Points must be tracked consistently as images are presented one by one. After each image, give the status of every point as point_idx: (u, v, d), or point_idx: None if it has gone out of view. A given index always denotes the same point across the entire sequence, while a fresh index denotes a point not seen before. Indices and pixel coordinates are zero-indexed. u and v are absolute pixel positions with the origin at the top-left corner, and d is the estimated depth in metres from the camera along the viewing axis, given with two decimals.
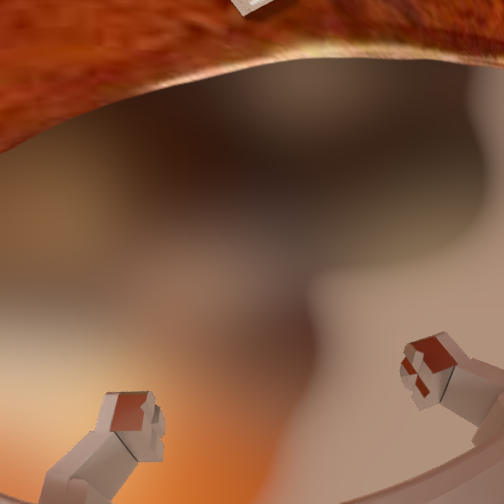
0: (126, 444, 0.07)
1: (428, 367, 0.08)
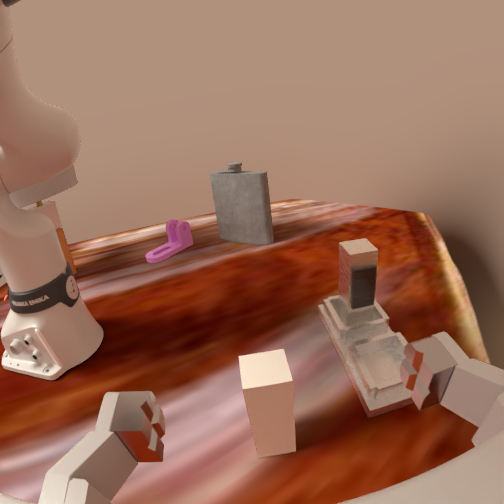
0: (126, 444, 0.07)
1: (428, 367, 0.08)
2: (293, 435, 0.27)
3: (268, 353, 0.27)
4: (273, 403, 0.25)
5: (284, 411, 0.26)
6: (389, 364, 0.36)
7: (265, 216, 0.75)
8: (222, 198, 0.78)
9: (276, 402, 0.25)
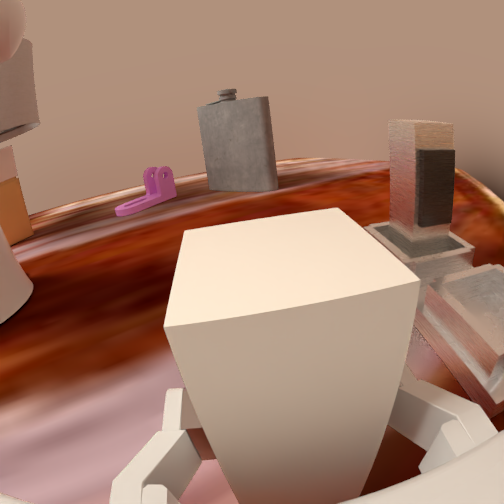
0: (195, 442, 0.07)
1: None
2: (356, 492, 0.08)
3: (290, 218, 0.08)
4: (321, 405, 0.06)
5: (353, 435, 0.06)
6: (496, 317, 0.17)
7: (266, 152, 0.56)
8: (212, 135, 0.59)
9: (334, 401, 0.06)
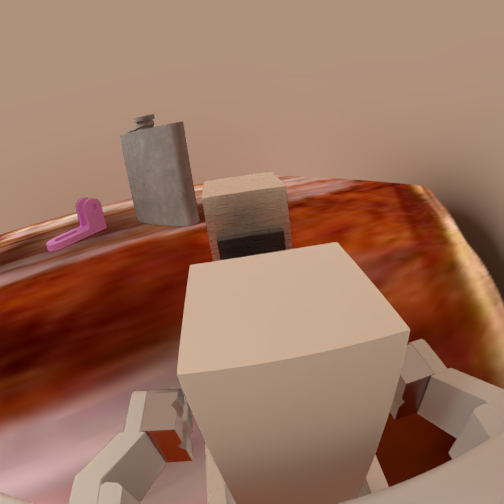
0: (156, 444, 0.07)
1: (401, 376, 0.08)
2: None
3: (291, 254, 0.08)
4: (317, 432, 0.06)
5: (346, 455, 0.07)
6: None
7: (181, 185, 0.51)
8: (133, 165, 0.55)
9: (328, 429, 0.06)
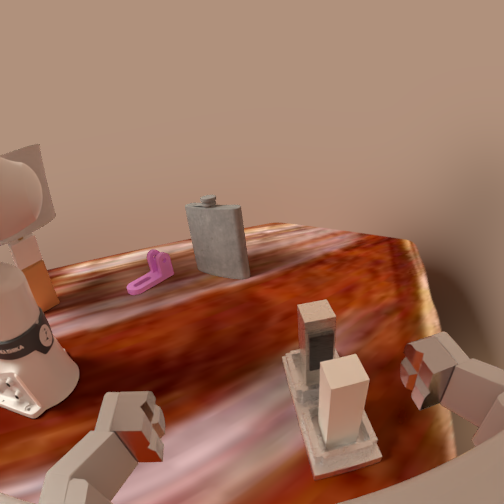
0: (126, 444, 0.07)
1: (428, 367, 0.08)
2: (358, 426, 0.31)
3: (345, 358, 0.31)
4: (351, 399, 0.29)
5: (357, 405, 0.30)
6: None
7: (239, 252, 0.74)
8: (198, 231, 0.77)
9: (353, 398, 0.29)
